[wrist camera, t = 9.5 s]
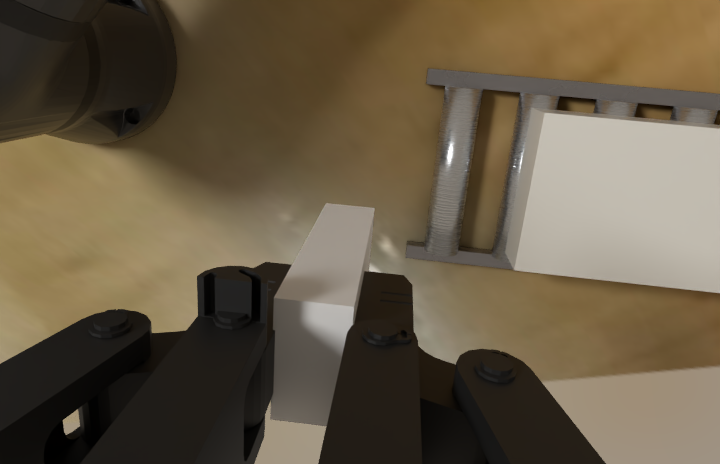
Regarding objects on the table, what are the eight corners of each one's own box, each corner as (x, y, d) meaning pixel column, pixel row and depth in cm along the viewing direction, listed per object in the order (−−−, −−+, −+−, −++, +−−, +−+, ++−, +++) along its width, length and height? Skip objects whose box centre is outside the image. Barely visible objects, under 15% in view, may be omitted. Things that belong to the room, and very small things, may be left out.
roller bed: (741, 289, 46) (762, 304, 43) (405, 253, 48) (405, 265, 45) (807, 101, 41) (837, 104, 38) (427, 68, 42) (429, 68, 40)
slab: (504, 252, 44) (513, 270, 40) (531, 107, 40) (544, 112, 36) (724, 276, 42) (755, 297, 39) (774, 130, 39) (813, 137, 35)
